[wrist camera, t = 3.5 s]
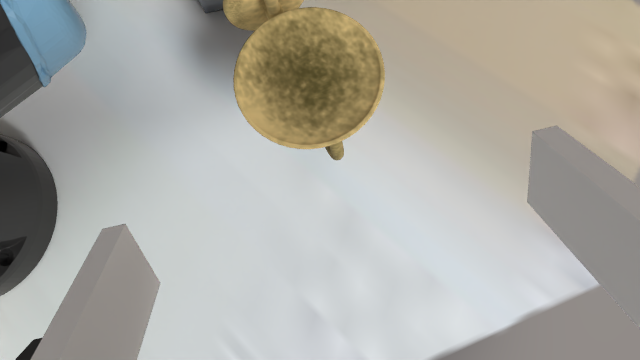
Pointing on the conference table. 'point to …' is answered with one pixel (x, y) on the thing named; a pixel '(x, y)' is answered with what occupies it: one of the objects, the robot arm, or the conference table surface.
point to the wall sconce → (305, 73)
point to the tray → (211, 5)
